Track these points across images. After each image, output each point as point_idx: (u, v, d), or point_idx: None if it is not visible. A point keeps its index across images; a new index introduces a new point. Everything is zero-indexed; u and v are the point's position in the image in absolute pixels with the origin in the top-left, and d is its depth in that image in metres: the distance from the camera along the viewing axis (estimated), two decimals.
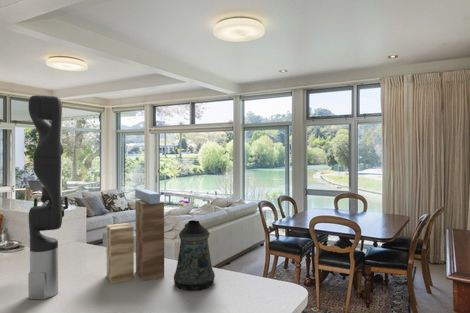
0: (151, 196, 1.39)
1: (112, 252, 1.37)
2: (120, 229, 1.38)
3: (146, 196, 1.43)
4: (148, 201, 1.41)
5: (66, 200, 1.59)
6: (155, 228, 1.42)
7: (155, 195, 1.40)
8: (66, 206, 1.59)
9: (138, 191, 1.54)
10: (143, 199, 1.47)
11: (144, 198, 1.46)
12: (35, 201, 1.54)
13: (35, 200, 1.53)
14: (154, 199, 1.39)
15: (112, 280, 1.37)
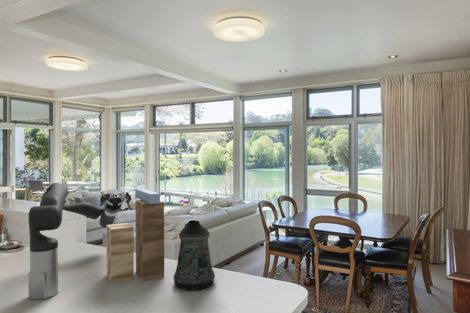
0: (151, 196, 1.39)
1: (112, 252, 1.37)
2: (120, 229, 1.38)
3: (146, 196, 1.43)
4: (148, 201, 1.41)
5: None
6: (155, 228, 1.42)
7: (155, 195, 1.40)
8: None
9: (138, 191, 1.54)
10: (143, 199, 1.47)
11: (144, 198, 1.46)
12: None
13: None
14: (154, 199, 1.39)
15: (112, 280, 1.37)
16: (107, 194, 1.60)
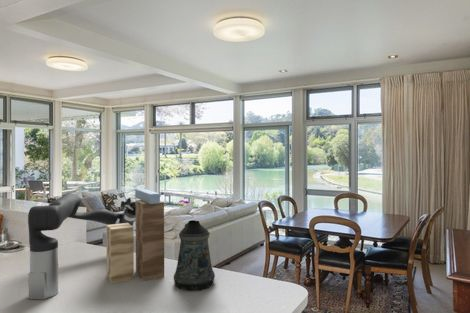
0: (151, 196, 1.39)
1: (112, 252, 1.37)
2: (120, 229, 1.38)
3: (146, 196, 1.43)
4: (148, 201, 1.41)
5: None
6: (155, 228, 1.42)
7: (155, 195, 1.40)
8: None
9: (138, 191, 1.54)
10: (143, 199, 1.47)
11: (144, 198, 1.46)
12: None
13: None
14: (154, 199, 1.39)
15: (112, 280, 1.37)
16: (128, 198, 1.59)
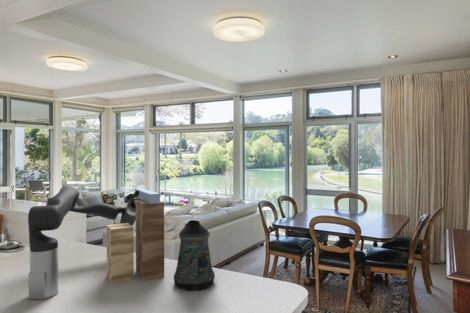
0: (151, 196, 1.39)
1: (112, 252, 1.37)
2: (120, 229, 1.38)
3: (146, 196, 1.43)
4: (148, 201, 1.41)
5: None
6: (155, 228, 1.42)
7: (155, 195, 1.40)
8: None
9: None
10: (143, 199, 1.47)
11: (144, 198, 1.46)
12: None
13: None
14: (154, 199, 1.39)
15: (112, 280, 1.37)
16: (136, 191, 1.54)
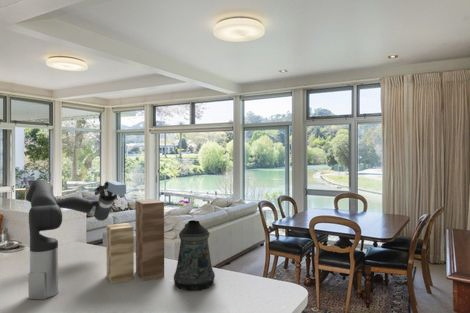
0: (117, 187, 1.38)
1: (112, 252, 1.37)
2: (120, 229, 1.38)
3: (113, 187, 1.43)
4: (114, 192, 1.41)
5: None
6: (155, 228, 1.42)
7: (121, 186, 1.39)
8: None
9: None
10: (111, 190, 1.47)
11: (112, 189, 1.46)
12: None
13: None
14: (120, 190, 1.39)
15: (112, 280, 1.37)
16: (106, 182, 1.54)
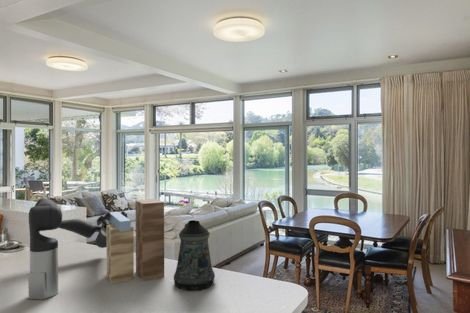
0: (121, 223, 1.33)
1: (112, 252, 1.37)
2: None
3: (117, 223, 1.37)
4: (118, 228, 1.35)
5: None
6: (155, 228, 1.42)
7: (125, 222, 1.34)
8: None
9: (111, 215, 1.48)
10: (115, 225, 1.41)
11: (115, 224, 1.40)
12: None
13: None
14: (124, 226, 1.33)
15: (112, 280, 1.37)
16: (107, 213, 1.47)
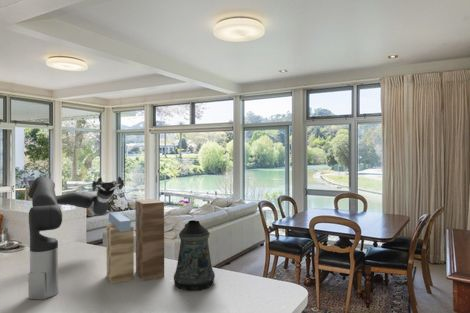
0: (121, 223, 1.33)
1: (112, 252, 1.37)
2: None
3: (117, 223, 1.37)
4: (118, 228, 1.35)
5: None
6: (155, 228, 1.42)
7: (125, 222, 1.34)
8: None
9: (111, 215, 1.48)
10: (115, 225, 1.41)
11: (115, 224, 1.40)
12: None
13: None
14: (124, 226, 1.33)
15: (112, 280, 1.37)
16: (99, 178, 1.58)
